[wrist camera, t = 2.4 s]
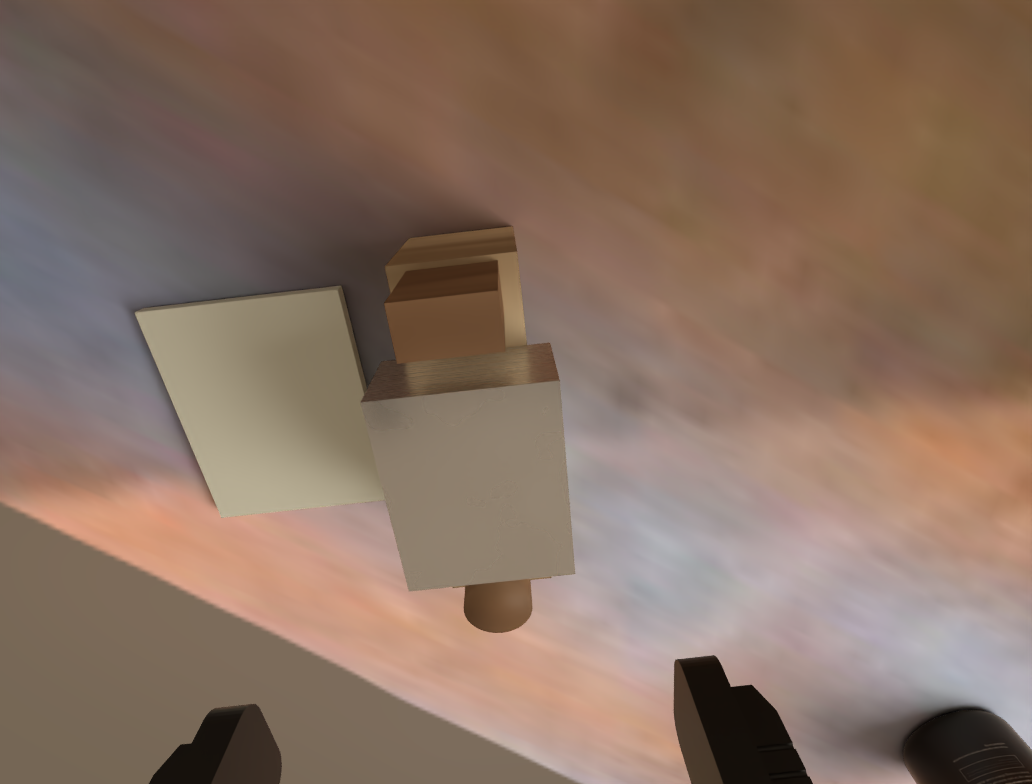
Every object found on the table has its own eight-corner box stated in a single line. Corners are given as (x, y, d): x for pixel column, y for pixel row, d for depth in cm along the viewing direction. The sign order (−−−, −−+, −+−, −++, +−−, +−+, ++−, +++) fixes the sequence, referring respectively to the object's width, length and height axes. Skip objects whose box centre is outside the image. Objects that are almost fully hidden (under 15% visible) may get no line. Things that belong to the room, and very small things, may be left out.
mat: (143, 308, 22) (134, 312, 21) (341, 285, 22) (337, 289, 21) (227, 509, 26) (221, 517, 25) (392, 491, 26) (390, 499, 25)
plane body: (409, 238, 21) (357, 298, 13) (512, 226, 21) (521, 279, 13) (460, 510, 26) (445, 664, 19) (541, 501, 26) (560, 652, 19)
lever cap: (381, 361, 18) (360, 402, 15) (550, 342, 18) (559, 380, 15) (420, 531, 21) (409, 591, 18) (564, 516, 21) (575, 573, 18)
